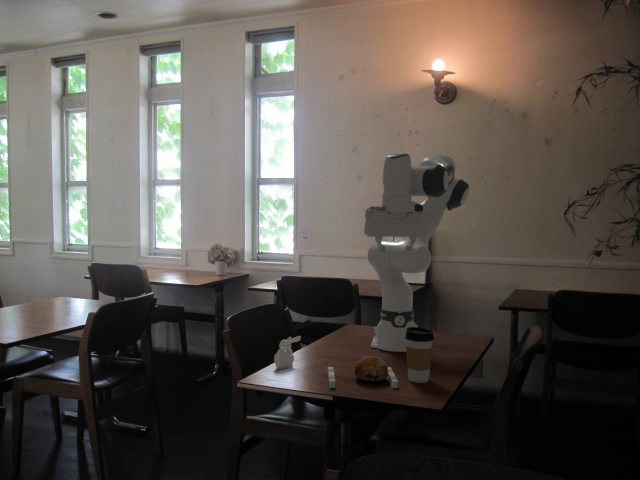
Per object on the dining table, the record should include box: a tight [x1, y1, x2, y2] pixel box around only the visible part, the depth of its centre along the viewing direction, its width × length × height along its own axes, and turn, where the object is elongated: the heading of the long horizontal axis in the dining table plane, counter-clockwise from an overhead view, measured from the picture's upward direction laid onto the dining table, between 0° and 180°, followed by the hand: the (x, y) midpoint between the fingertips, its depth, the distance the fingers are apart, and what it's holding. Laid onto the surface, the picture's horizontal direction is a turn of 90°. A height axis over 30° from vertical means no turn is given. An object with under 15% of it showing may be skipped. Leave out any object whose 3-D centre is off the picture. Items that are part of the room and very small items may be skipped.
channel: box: [327, 366, 399, 389], centre depth 168 cm, size 14×19×2 cm
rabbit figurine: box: [273, 335, 302, 370], centre depth 183 cm, size 12×8×10 cm, turn 168°
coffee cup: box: [405, 326, 435, 384], centre depth 169 cm, size 8×8×15 cm
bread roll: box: [354, 355, 389, 382], centre depth 169 cm, size 10×10×8 cm
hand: (395, 251), depth 177 cm, fingers open, 8 cm apart
